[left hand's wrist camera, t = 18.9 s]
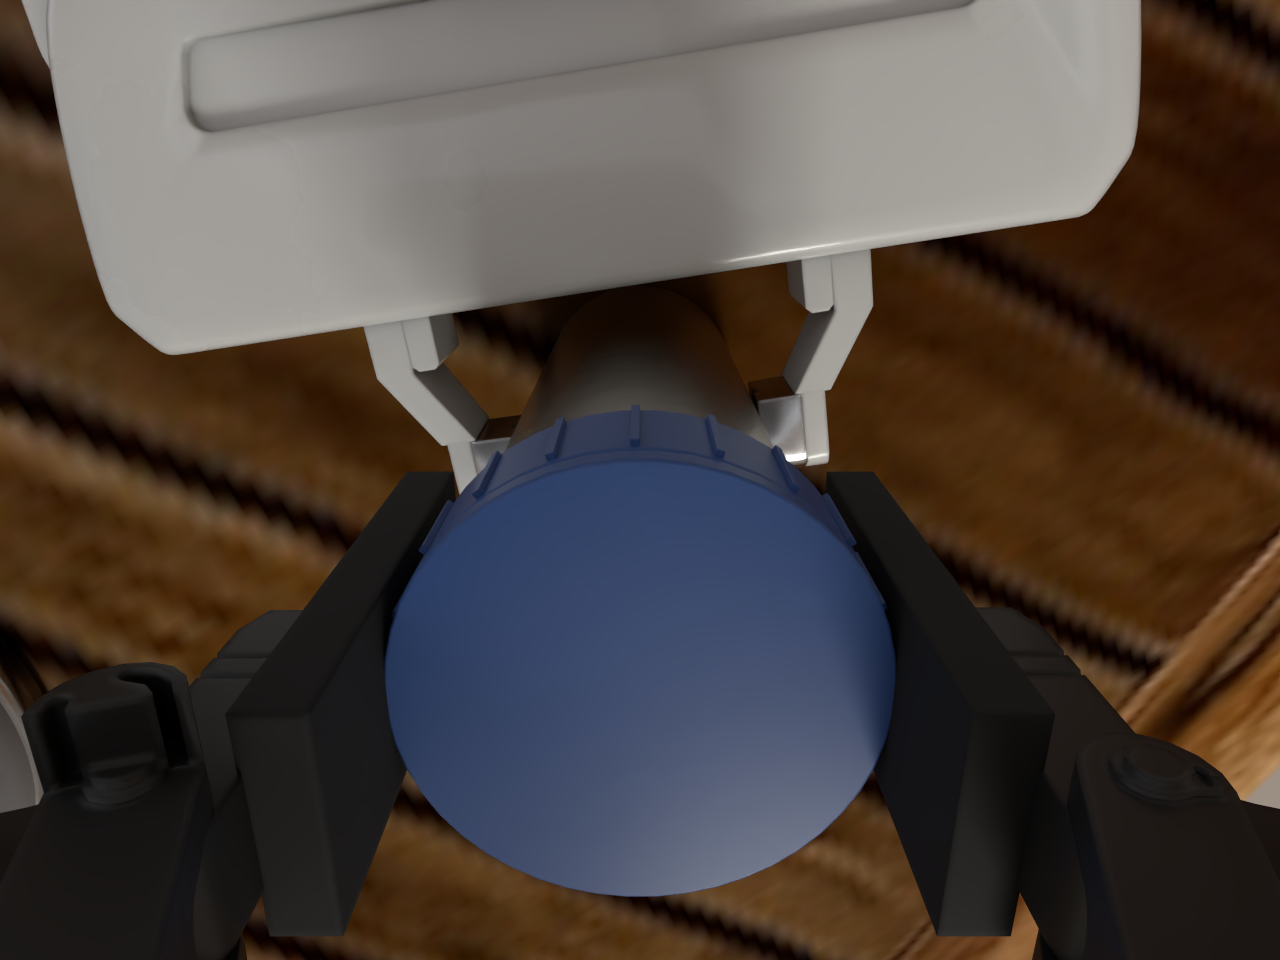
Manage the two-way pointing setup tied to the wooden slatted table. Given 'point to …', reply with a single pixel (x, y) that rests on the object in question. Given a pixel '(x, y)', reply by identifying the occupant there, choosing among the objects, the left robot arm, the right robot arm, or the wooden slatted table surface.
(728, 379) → the jar
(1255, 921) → the left robot arm
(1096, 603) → the wooden slatted table surface
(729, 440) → the lid
